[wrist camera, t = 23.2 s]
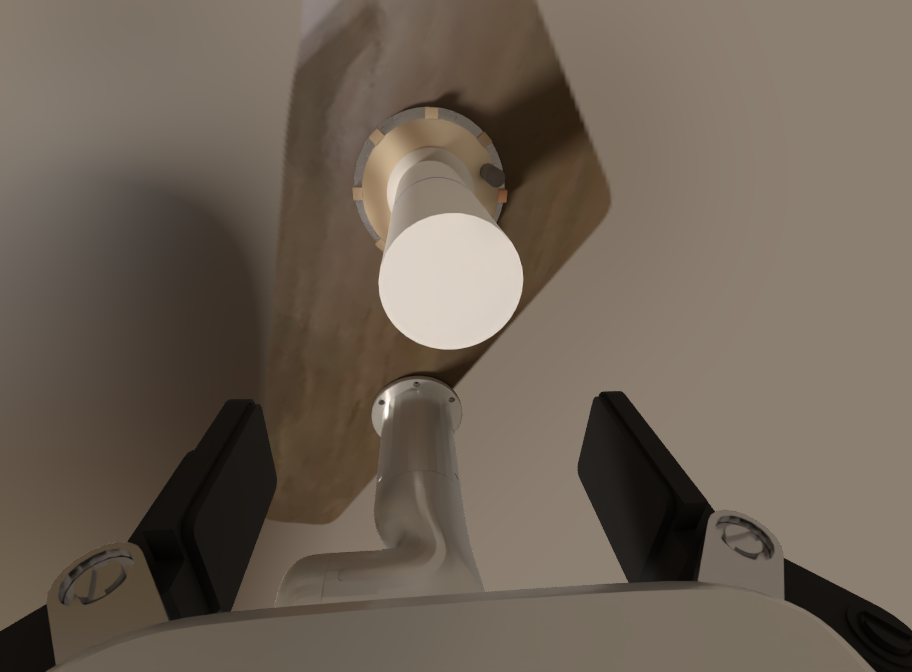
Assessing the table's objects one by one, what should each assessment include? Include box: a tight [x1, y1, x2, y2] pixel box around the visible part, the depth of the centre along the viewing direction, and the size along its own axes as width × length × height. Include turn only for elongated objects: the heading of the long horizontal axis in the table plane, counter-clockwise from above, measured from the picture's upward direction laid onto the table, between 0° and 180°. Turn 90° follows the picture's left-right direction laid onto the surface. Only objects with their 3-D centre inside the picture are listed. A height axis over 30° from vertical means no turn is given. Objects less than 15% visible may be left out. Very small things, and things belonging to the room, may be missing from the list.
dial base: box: [354, 107, 505, 240], centre depth 45 cm, size 16×16×1 cm
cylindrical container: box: [379, 161, 523, 349], centre depth 31 cm, size 7×7×25 cm
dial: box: [353, 107, 507, 252], centre depth 41 cm, size 15×15×6 cm
